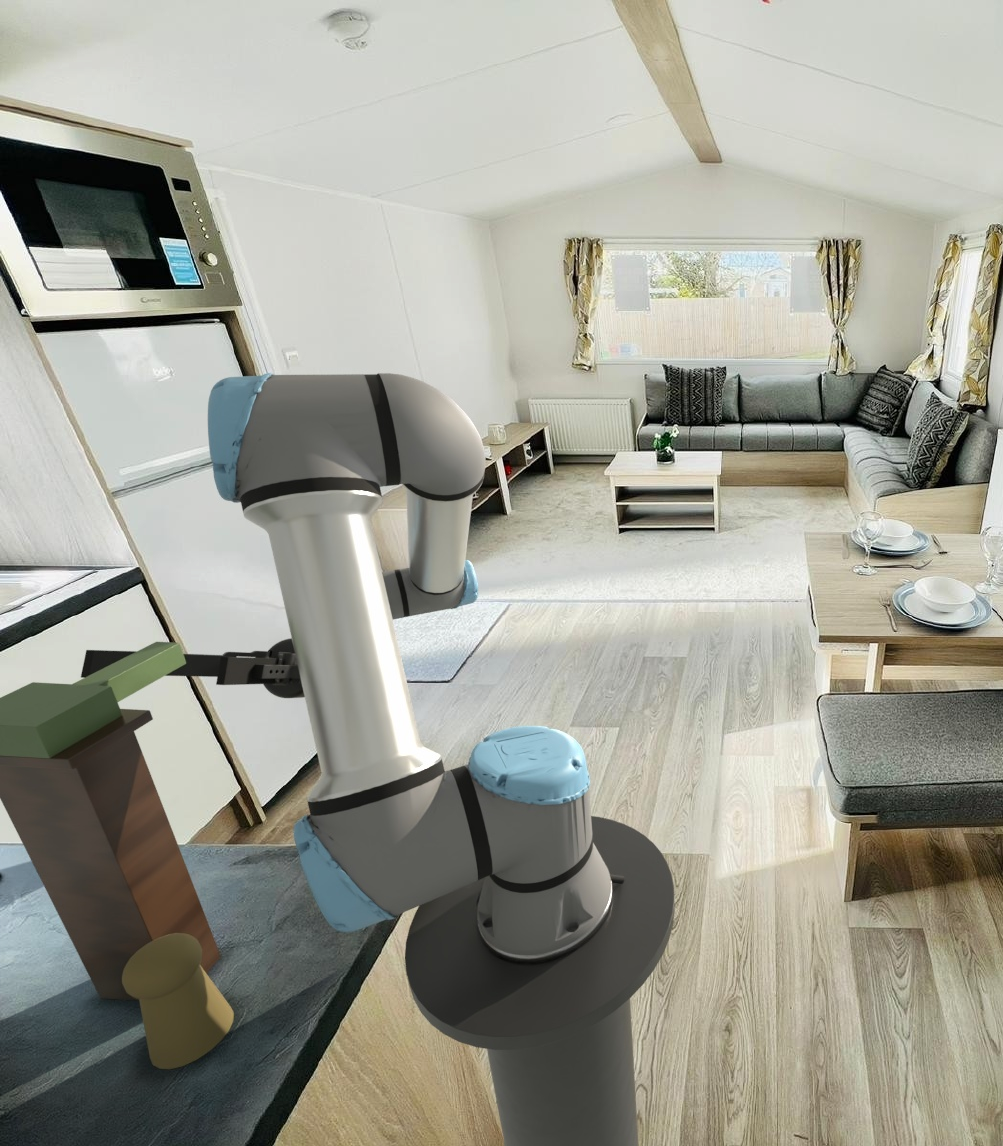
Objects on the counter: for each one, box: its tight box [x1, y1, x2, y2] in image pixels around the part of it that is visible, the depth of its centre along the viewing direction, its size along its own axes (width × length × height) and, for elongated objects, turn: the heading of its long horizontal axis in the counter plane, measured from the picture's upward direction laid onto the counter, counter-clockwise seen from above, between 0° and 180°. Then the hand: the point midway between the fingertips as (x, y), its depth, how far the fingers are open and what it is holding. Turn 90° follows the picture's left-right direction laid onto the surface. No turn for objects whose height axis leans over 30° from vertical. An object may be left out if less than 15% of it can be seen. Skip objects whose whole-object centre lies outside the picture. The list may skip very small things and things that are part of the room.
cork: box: [122, 933, 235, 1070], centre depth 58 cm, size 6×6×11 cm
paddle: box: [0, 641, 186, 758], centre depth 57 cm, size 7×15×3 cm, turn 178°
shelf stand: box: [0, 708, 222, 1002], centre depth 60 cm, size 10×7×30 cm
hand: (154, 667), depth 63 cm, fingers open, 13 cm apart
